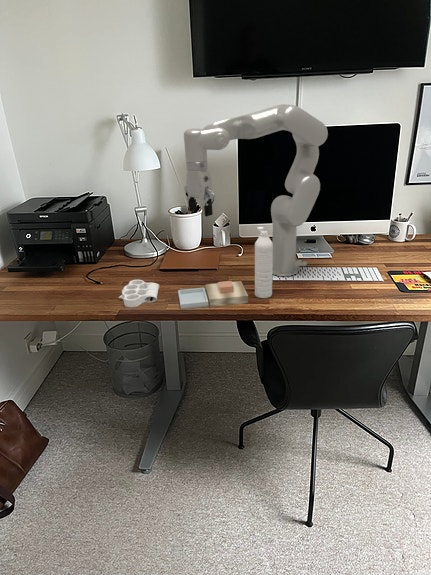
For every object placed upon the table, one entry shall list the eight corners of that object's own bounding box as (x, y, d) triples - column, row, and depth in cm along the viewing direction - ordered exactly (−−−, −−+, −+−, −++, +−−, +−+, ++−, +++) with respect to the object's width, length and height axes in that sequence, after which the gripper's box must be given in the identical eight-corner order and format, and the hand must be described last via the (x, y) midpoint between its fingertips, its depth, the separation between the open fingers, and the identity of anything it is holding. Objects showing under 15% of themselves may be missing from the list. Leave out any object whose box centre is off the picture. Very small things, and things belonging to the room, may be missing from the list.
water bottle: (274, 297, 167) (275, 233, 156) (257, 299, 166) (257, 235, 155) (267, 287, 175) (268, 225, 164) (251, 289, 173) (250, 227, 163)
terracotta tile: (231, 286, 170) (231, 280, 169) (233, 292, 165) (233, 286, 164) (218, 287, 169) (218, 282, 168) (220, 293, 165) (220, 287, 164)
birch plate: (241, 287, 175) (240, 280, 174) (248, 303, 163) (248, 295, 162) (205, 291, 174) (205, 284, 172) (210, 307, 162) (209, 299, 161)
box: (204, 292, 173) (204, 287, 172) (208, 306, 162) (208, 301, 161) (178, 294, 172) (178, 290, 171) (180, 309, 161) (180, 304, 160)
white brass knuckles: (156, 307, 165) (116, 309, 164) (160, 286, 181) (123, 287, 181) (155, 299, 163) (114, 300, 163) (159, 278, 179) (122, 280, 179)
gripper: (220, 167, 154) (223, 215, 162) (191, 161, 167) (195, 206, 174) (203, 170, 150) (206, 220, 158) (174, 165, 163) (179, 210, 170)
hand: (200, 212), depth 166 cm, fingers open, 9 cm apart
